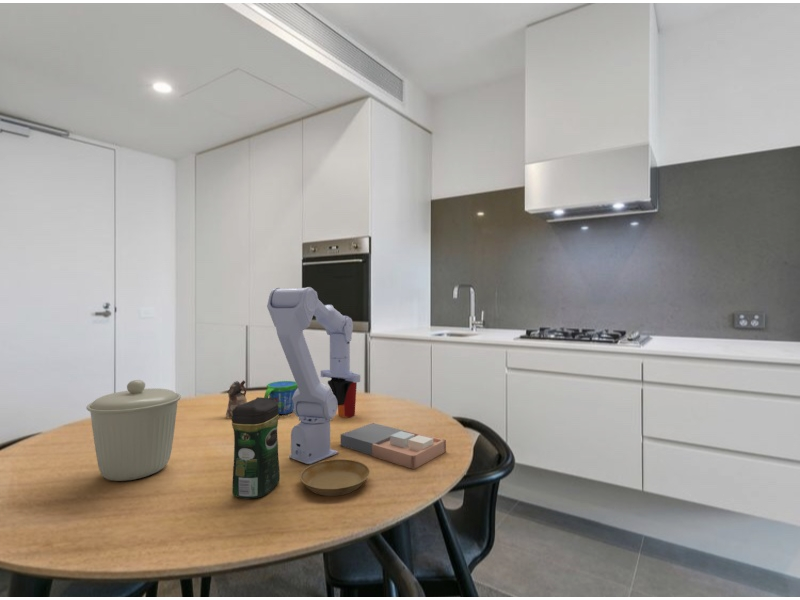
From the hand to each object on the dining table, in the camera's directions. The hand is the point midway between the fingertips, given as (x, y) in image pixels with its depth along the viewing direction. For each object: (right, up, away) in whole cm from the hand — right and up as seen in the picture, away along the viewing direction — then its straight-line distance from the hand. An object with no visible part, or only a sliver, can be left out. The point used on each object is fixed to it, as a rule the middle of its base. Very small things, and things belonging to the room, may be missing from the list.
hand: (339, 404), depth 115 cm
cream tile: (+23, -7, -15) cm, 28 cm away
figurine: (-39, -10, +23) cm, 46 cm away
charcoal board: (+10, -9, -5) cm, 15 cm away
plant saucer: (+3, -10, -30) cm, 31 cm away
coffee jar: (-13, -9, -32) cm, 36 cm away
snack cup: (-24, -10, +27) cm, 38 cm away
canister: (-44, -10, -23) cm, 50 cm away
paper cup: (-1, -10, +23) cm, 25 cm away
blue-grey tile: (+18, -7, -12) cm, 23 cm away
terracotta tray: (+20, -9, -13) cm, 25 cm away
